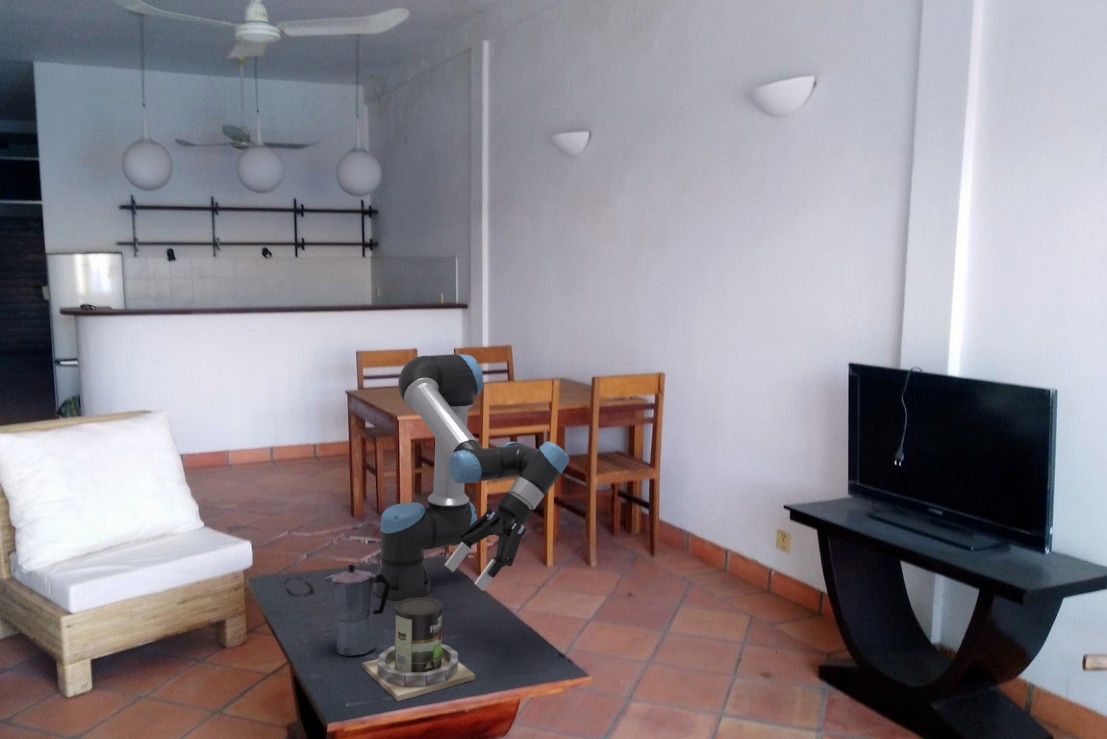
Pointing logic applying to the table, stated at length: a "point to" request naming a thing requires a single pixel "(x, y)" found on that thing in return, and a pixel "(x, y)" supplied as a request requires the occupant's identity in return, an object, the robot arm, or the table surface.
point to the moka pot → (355, 609)
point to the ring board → (417, 690)
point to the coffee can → (418, 635)
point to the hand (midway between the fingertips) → (463, 577)
